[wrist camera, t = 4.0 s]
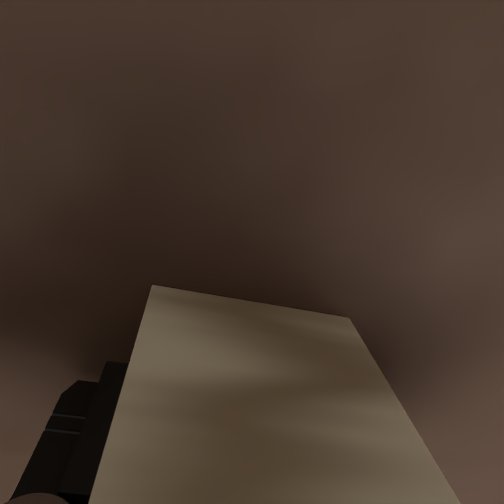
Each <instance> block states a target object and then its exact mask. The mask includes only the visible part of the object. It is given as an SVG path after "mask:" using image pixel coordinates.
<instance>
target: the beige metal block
mask: <svg viewBox="0 0 504 504" xmlns="http://www.w3.org/2000/svg"><path fill="white" fill-rule="evenodd" d="M88 504H461V503H460V502H459V500H458V498H457V497H456V495H455V493H454V492H453V490H452V488H451V487H450V485H449V483H448V482H447V480H446V478H445V477H444V475H443V473H442V472H441V470H440V468H439V467H438V465H437V463H436V462H435V460H434V458H433V457H432V455H431V453H430V452H429V450H428V448H427V447H426V445H425V443H424V442H423V440H422V438H421V437H420V435H419V433H418V432H417V430H416V428H415V427H414V425H413V423H412V422H411V420H410V418H409V417H408V415H407V413H406V412H405V410H404V408H403V407H402V405H401V403H400V402H399V400H398V398H397V397H396V395H395V393H394V392H393V390H392V388H391V387H390V385H389V383H388V382H387V380H386V378H385V377H384V375H383V373H382V372H381V370H380V368H379V367H378V365H377V363H376V362H375V360H374V358H373V357H372V355H371V353H370V352H369V350H368V348H367V347H366V345H365V343H364V342H363V340H362V338H361V337H360V335H359V333H358V332H357V330H356V328H355V327H354V325H353V323H352V322H351V320H350V318H348V317H342V316H336V315H330V314H324V313H318V312H312V311H306V310H300V309H294V308H288V307H282V306H276V305H270V304H264V303H258V302H252V301H247V300H241V299H235V298H229V297H223V296H217V295H211V294H205V293H199V292H193V291H187V290H181V289H175V288H169V287H163V286H157V285H152V286H151V290H150V293H149V297H148V300H147V304H146V307H145V310H144V314H143V317H142V321H141V324H140V328H139V331H138V335H137V338H136V341H135V345H134V348H133V352H132V355H131V359H130V362H129V365H128V369H127V372H126V376H125V379H124V383H123V386H122V389H121V393H120V396H119V400H118V403H117V407H116V410H115V413H114V417H113V420H112V424H111V427H110V431H109V434H108V438H107V441H106V444H105V448H104V451H103V455H102V458H101V462H100V465H99V468H98V472H97V475H96V479H95V482H94V486H93V489H92V492H91V496H90V499H89V503H88Z"/></svg>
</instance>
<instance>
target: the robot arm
mask: <svg viewBox="0 0 504 504" xmlns="http://www.w3.org/2000/svg"><path fill="white" fill-rule="evenodd" d="M128 365H129V364H126V363H119V362H112V361H107V362H106V365H105V367H104V370H103V373H102V375H101V378H100V381H99V383H96V382H89V381H81V380H78V381H77V382H75V383H74V384H73V385H72V386H71V387H69V388H68V389H67V390H66V391H65V392H63V393H62V394H61V396H60V398H59V400H58V402H57V404H56V406H55V408H54V410H53V413H52V416H51V417H50V419H49V421H48V423H47V425H46V427H45V431H43V433H42V435H41V438H40V440H39V442H38V444H37V446H36V448H35V450H34V452H33V454H32V456H31V458H30V460H29V463H28V465H27V467H26V469H25V471H24V473H23V475H22V477H21V479H20V481H19V483H18V485H17V487H16V490H15V492H14V493H13V495H12V497H11V498H10V500H9V501H8V502H6V503H4V504H88V503H89V499H90V496H91V492H92V489H93V486H94V482H95V479H96V475H97V472H98V468H99V465H100V462H101V458H102V455H103V451H104V448H105V444H106V441H107V438H108V434H109V431H110V427H111V424H112V420H113V417H114V413H115V410H116V407H117V403H118V400H119V396H120V393H121V389H122V386H123V383H124V379H125V376H126V372H127V369H128Z"/></svg>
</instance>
